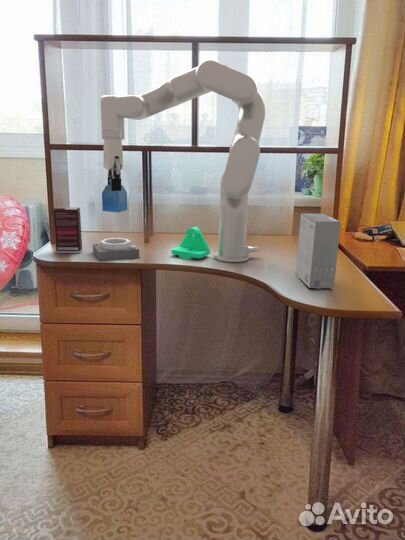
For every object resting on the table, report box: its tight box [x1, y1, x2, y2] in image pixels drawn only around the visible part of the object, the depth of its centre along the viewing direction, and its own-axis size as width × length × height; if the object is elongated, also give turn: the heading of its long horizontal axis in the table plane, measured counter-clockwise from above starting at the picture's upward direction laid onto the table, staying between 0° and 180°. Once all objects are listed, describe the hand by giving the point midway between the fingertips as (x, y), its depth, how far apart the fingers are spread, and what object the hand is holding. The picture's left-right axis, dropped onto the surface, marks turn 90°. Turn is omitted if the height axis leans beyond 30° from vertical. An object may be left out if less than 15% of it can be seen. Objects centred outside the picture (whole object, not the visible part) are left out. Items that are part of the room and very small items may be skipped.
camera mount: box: [171, 226, 211, 260], centre depth 171 cm, size 12×8×10 cm, turn 62°
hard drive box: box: [295, 213, 342, 289], centre depth 143 cm, size 16×8×20 cm, turn 4°
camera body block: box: [92, 237, 140, 261], centre depth 171 cm, size 14×12×5 cm
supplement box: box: [52, 206, 83, 254], centre depth 172 cm, size 9×5×16 cm, turn 94°
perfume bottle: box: [101, 175, 128, 213], centre depth 165 cm, size 6×6×12 cm
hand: (114, 189), depth 165 cm, fingers closed on perfume bottle, 5 cm apart
